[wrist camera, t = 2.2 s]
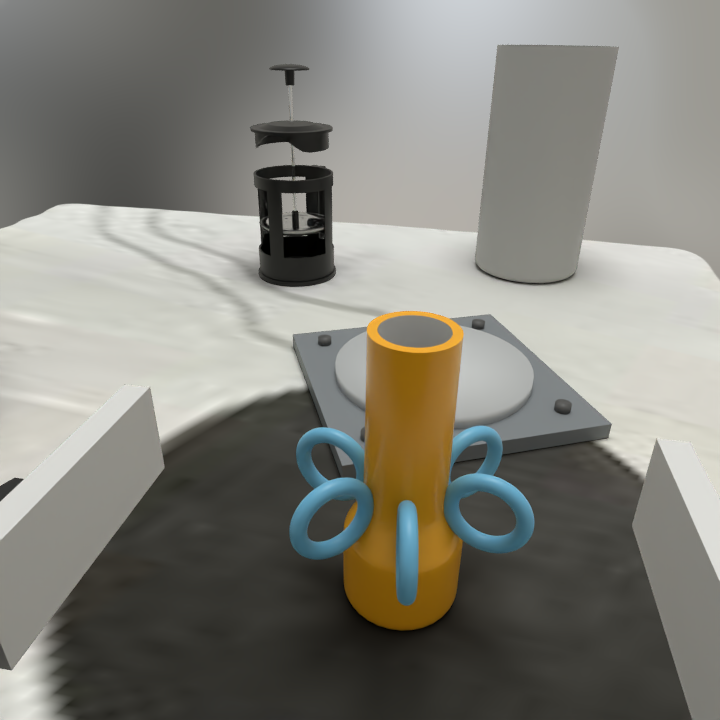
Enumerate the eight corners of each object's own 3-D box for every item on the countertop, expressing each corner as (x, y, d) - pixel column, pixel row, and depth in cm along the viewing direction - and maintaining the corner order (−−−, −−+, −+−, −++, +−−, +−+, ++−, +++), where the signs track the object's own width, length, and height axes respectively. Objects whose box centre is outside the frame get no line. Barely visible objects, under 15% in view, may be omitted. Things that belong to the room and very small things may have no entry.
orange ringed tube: (431, 489, 39) (450, 268, 32) (554, 605, 31) (616, 345, 24) (254, 564, 33) (229, 315, 26) (350, 728, 25) (352, 436, 18)
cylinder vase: (595, 270, 76) (641, 47, 64) (536, 293, 69) (576, 47, 57) (514, 246, 84) (541, 44, 73) (454, 265, 77) (473, 44, 65)
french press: (310, 293, 68) (303, 67, 57) (240, 280, 72) (221, 64, 61) (354, 262, 78) (355, 63, 67) (290, 252, 81) (282, 61, 70)
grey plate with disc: (342, 480, 40) (342, 453, 39) (293, 346, 57) (292, 324, 56) (608, 437, 44) (614, 412, 43) (489, 325, 61) (491, 305, 60)
